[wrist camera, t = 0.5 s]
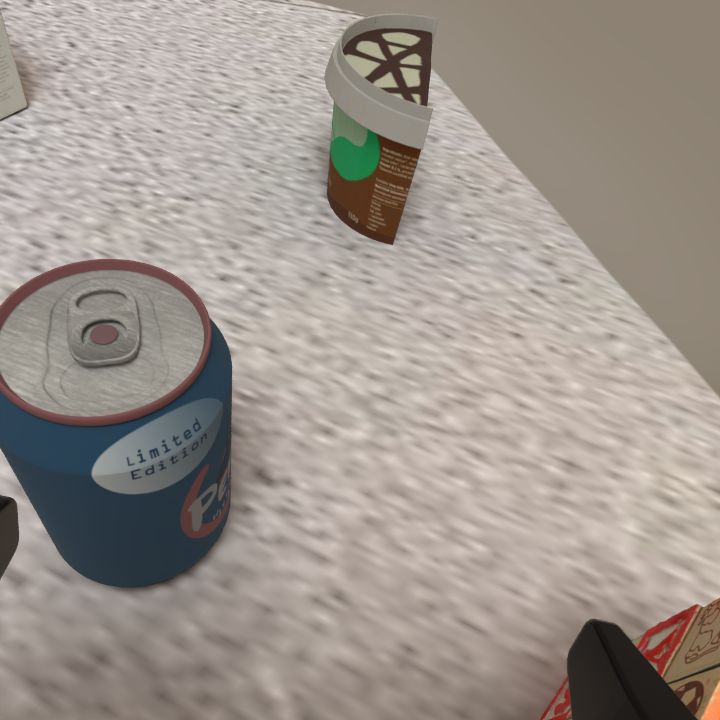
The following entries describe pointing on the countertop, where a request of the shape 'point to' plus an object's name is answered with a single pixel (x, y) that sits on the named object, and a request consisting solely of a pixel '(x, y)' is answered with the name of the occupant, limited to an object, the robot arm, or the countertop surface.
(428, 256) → the countertop surface
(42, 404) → the soda can
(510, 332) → the countertop surface
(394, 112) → the food container
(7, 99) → the small box
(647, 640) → the stack of blocks
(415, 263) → the countertop surface
